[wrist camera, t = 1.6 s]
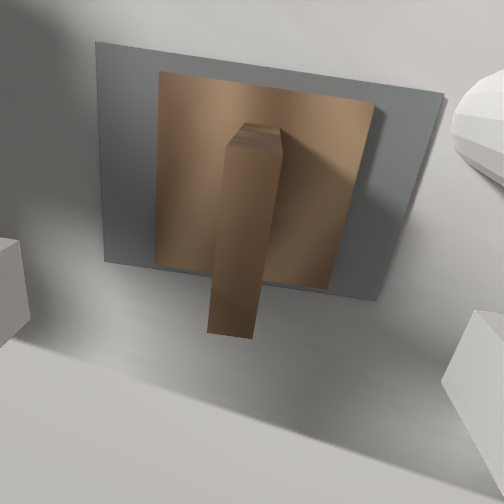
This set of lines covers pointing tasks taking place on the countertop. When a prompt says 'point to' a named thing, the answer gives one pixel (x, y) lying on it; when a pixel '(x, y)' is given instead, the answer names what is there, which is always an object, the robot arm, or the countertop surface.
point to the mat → (151, 62)
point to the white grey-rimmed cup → (482, 127)
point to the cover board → (299, 182)
